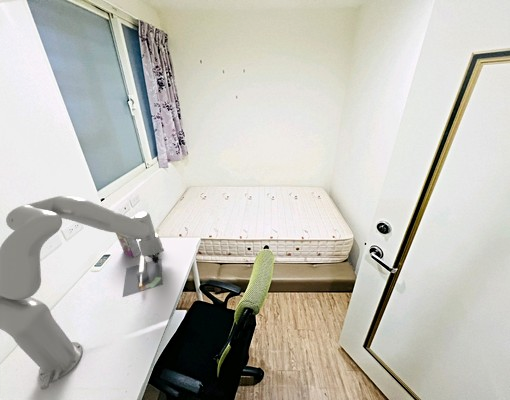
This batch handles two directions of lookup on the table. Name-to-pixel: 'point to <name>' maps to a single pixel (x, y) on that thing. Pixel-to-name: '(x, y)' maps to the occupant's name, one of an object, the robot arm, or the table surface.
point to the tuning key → (142, 271)
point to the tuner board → (154, 280)
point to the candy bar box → (129, 245)
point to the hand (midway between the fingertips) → (156, 261)
